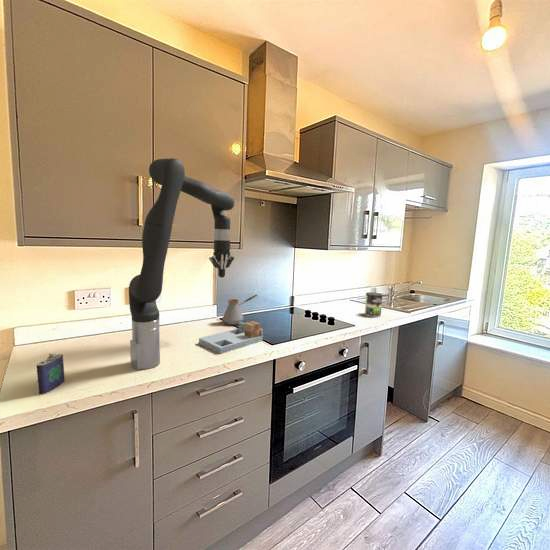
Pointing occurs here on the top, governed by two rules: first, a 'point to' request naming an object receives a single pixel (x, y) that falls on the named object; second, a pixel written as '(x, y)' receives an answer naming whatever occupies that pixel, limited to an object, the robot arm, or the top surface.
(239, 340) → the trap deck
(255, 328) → the block
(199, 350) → the top surface
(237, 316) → the coffee pot
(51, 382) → the flask
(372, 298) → the coffee can
